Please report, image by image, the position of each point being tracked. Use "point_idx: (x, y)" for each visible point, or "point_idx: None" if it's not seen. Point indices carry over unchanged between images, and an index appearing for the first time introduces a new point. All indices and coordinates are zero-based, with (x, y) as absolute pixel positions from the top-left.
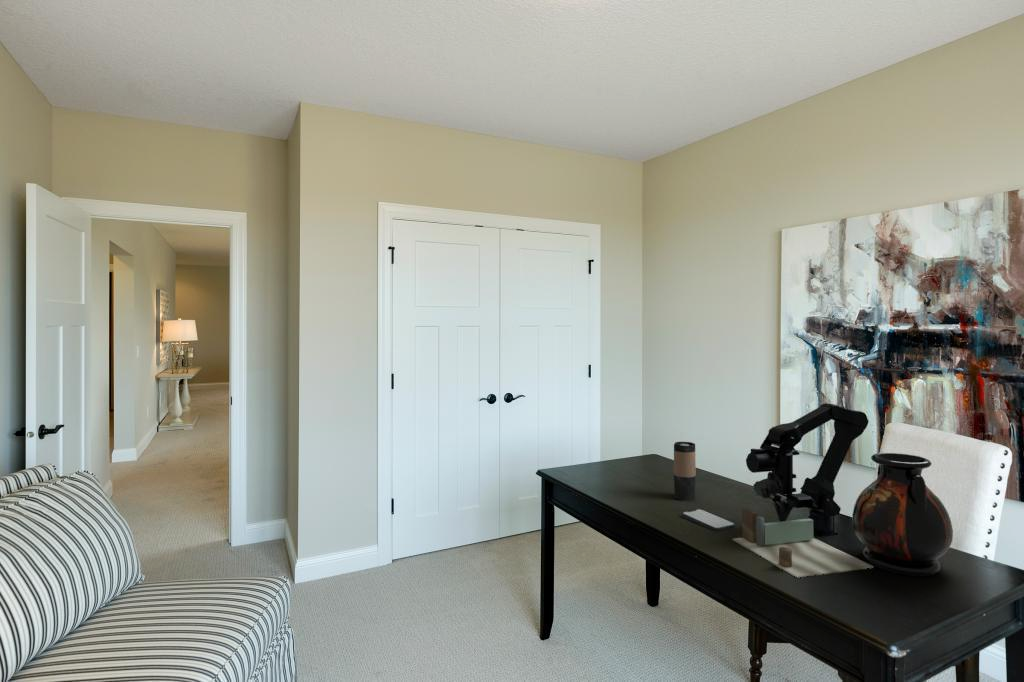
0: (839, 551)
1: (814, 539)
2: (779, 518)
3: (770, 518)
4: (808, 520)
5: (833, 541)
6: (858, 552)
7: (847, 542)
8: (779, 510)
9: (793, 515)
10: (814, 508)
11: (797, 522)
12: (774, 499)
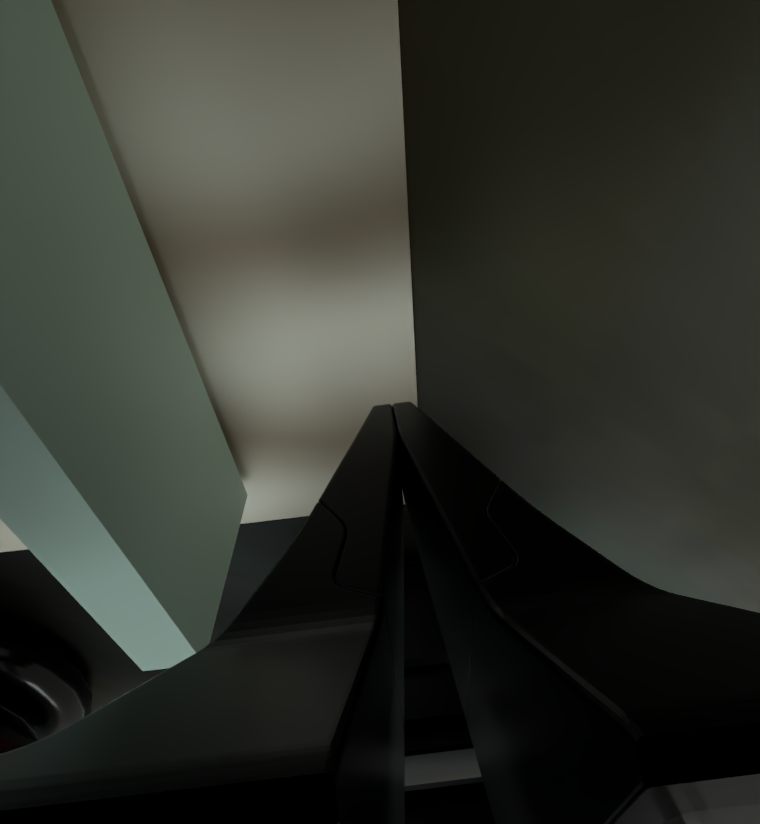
0: (7, 537)
1: (247, 509)
2: (413, 420)
3: (742, 456)
4: (122, 638)
5: (241, 579)
6: (63, 605)
7: (226, 620)
8: (432, 518)
9: (681, 584)
10: (453, 752)
11: (12, 519)
12: (589, 782)
